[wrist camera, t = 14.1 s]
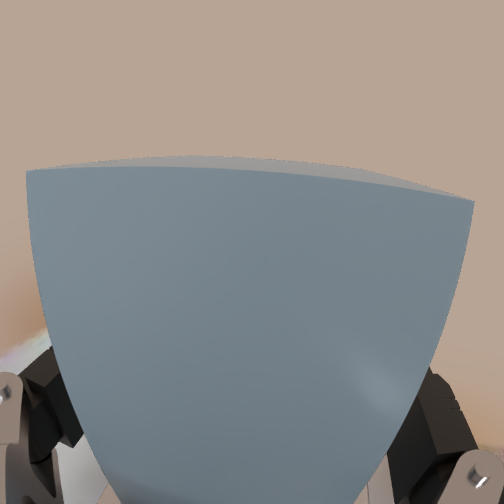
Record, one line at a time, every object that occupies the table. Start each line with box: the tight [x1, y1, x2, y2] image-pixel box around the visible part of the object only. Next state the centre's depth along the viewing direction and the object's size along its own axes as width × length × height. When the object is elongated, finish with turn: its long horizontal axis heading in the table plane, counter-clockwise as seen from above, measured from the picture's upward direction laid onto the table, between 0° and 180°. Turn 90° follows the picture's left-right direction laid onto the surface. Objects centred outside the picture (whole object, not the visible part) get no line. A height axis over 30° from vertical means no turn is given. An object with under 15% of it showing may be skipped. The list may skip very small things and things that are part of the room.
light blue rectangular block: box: [26, 156, 474, 504], centre depth 8 cm, size 4×6×15 cm
